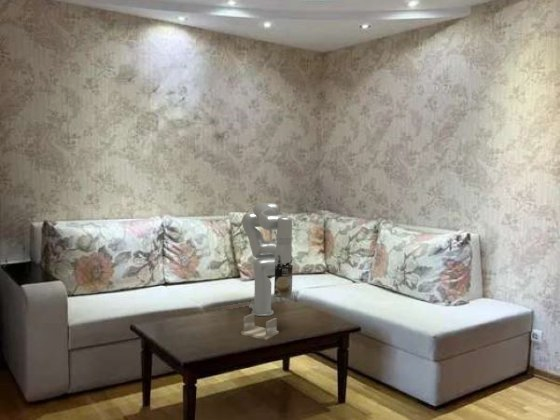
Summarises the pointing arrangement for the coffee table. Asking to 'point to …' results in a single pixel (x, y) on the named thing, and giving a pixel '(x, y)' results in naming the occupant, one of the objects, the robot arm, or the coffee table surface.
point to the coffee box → (284, 282)
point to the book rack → (259, 328)
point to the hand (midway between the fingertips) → (283, 274)
